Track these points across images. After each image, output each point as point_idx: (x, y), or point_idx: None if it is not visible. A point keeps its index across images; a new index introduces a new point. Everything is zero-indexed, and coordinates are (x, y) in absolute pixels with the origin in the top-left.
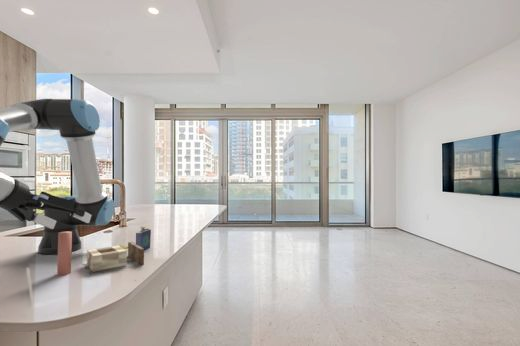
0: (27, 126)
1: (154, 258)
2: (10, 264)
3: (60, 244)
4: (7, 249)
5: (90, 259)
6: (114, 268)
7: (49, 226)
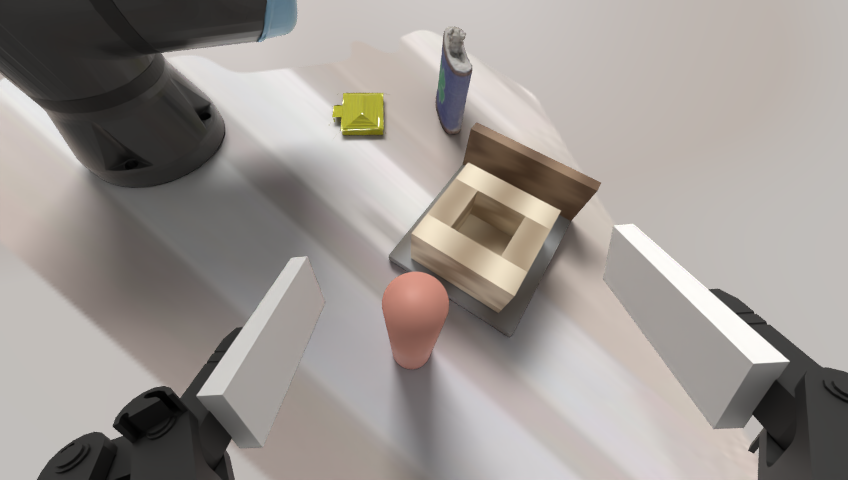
0: None
1: None
2: (95, 297)
3: (418, 348)
4: None
5: (464, 277)
6: None
7: (314, 323)
